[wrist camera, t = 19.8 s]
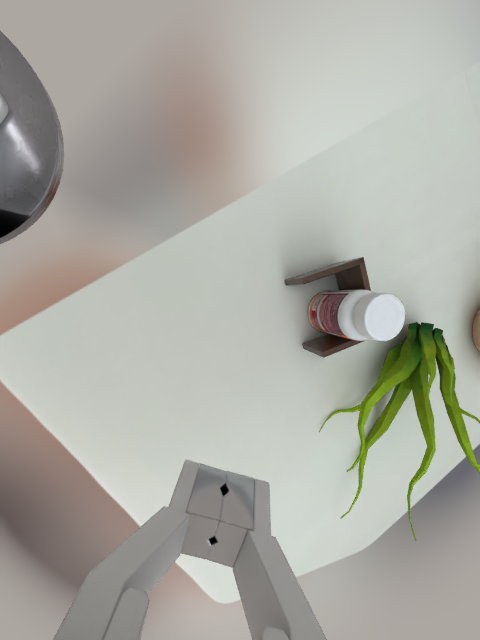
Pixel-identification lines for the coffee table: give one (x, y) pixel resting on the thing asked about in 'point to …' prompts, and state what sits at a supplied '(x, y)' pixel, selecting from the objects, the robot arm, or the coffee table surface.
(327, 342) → the u-shaped stand
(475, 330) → the bowl
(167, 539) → the robot arm
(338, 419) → the coffee table surface
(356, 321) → the pill bottle
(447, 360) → the decorative plant
